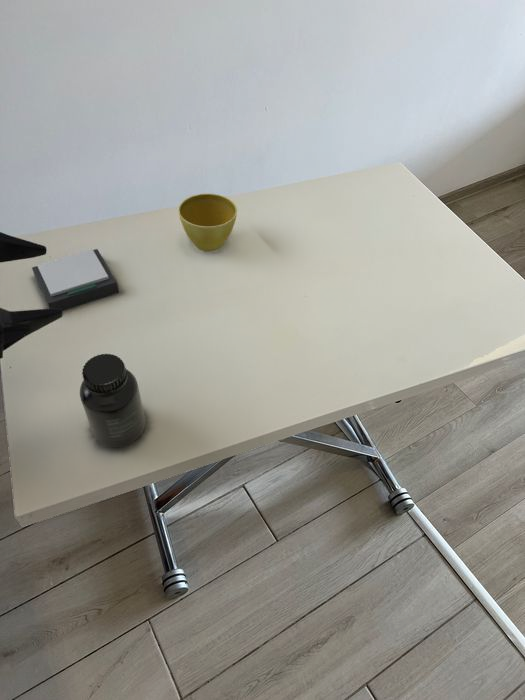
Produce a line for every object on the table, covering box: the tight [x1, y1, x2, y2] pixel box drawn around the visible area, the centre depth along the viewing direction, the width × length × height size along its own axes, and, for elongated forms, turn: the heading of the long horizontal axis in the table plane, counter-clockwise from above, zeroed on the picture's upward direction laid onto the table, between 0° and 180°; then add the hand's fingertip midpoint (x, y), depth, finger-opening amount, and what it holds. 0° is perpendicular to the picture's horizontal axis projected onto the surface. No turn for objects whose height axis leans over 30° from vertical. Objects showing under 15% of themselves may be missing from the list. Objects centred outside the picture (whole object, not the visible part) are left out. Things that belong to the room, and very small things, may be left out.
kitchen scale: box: [31, 248, 120, 311], centre depth 87 cm, size 11×10×3 cm
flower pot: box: [178, 193, 238, 252], centre depth 94 cm, size 10×10×7 cm
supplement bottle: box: [79, 353, 146, 448], centre depth 65 cm, size 7×7×12 cm
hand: (53, 280), depth 61 cm, fingers open, 9 cm apart
